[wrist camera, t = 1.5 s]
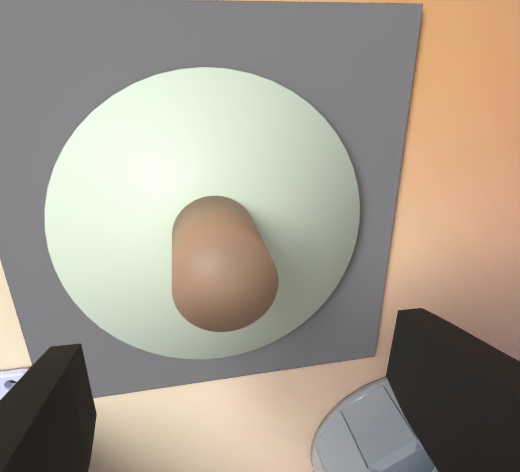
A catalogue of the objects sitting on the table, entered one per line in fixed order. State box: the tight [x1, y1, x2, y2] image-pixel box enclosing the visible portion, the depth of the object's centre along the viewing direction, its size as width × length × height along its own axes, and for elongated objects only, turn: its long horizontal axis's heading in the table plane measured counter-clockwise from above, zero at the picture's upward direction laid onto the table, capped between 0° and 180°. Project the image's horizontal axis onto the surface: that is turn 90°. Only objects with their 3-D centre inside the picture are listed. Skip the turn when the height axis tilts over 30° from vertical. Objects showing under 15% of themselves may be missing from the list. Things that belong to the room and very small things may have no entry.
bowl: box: [311, 377, 438, 472], centre depth 23 cm, size 10×10×4 cm
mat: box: [0, 0, 423, 398], centre depth 17 cm, size 16×16×1 cm
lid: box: [45, 67, 360, 359], centre depth 14 cm, size 12×12×5 cm
